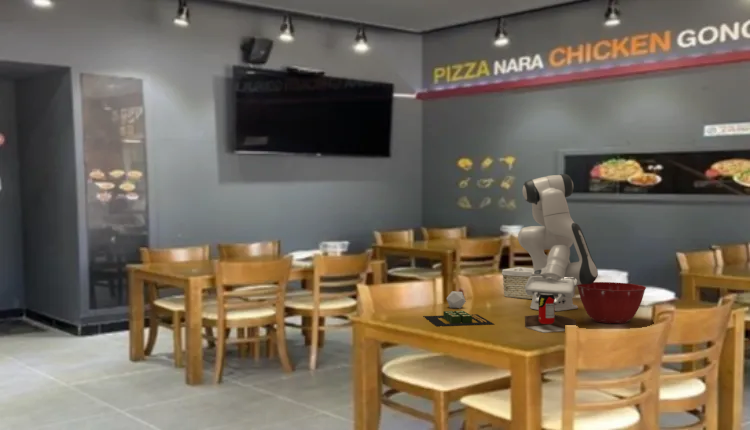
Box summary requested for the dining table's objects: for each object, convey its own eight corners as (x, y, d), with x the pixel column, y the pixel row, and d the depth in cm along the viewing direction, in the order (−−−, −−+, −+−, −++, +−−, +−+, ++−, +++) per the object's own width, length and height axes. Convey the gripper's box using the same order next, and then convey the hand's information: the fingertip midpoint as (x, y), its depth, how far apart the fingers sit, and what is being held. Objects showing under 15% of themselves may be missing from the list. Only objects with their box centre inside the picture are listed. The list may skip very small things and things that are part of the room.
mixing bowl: (617, 314, 356) (617, 280, 356) (660, 324, 330) (660, 287, 329) (563, 318, 346) (563, 283, 346) (603, 329, 320) (604, 291, 319)
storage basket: (500, 297, 413) (500, 268, 412) (517, 293, 424) (517, 266, 424) (540, 301, 396) (540, 272, 396) (557, 298, 408) (557, 269, 407)
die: (468, 308, 378) (459, 291, 382) (468, 302, 370) (459, 284, 375) (452, 315, 377) (444, 297, 382) (452, 308, 370) (444, 291, 374)
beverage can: (552, 322, 323) (552, 292, 323) (556, 324, 316) (556, 294, 316) (536, 322, 323) (537, 292, 322) (540, 324, 316) (540, 294, 316)
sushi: (494, 326, 331) (494, 317, 331) (436, 328, 327) (436, 319, 327) (477, 316, 356) (477, 308, 356) (423, 318, 352) (423, 309, 352)
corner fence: (551, 324, 331) (551, 313, 331) (575, 330, 316) (575, 319, 316) (522, 326, 325) (522, 316, 325) (546, 333, 310) (546, 322, 310)
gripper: (579, 282, 324) (573, 309, 316) (531, 280, 334) (524, 306, 326) (577, 273, 320) (570, 300, 312) (528, 270, 330) (520, 296, 322)
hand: (546, 303), depth 319 cm, fingers closed on beverage can, 6 cm apart
